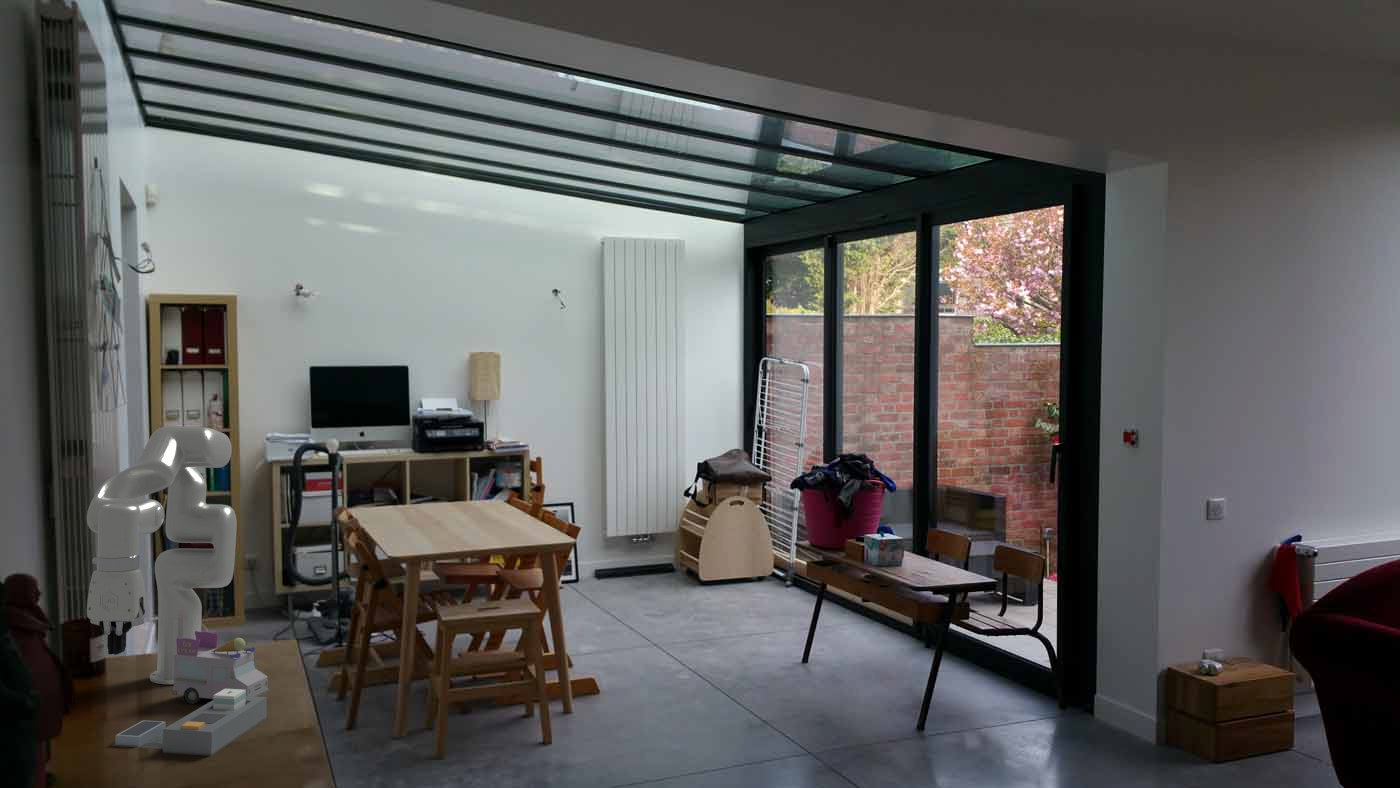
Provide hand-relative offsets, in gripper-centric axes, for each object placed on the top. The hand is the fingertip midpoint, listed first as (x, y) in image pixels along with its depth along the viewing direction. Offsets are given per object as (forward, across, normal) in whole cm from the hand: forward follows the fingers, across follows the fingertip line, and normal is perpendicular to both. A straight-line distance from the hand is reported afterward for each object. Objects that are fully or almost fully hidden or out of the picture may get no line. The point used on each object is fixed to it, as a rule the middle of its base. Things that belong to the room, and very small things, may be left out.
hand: (116, 652), depth 213 cm
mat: (+17, +9, -1) cm, 20 cm away
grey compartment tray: (+17, +20, +3) cm, 27 cm away
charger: (+17, +20, +8) cm, 27 cm away
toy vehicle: (+18, +10, +24) cm, 31 cm away
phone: (+17, +6, -1) cm, 18 cm away
